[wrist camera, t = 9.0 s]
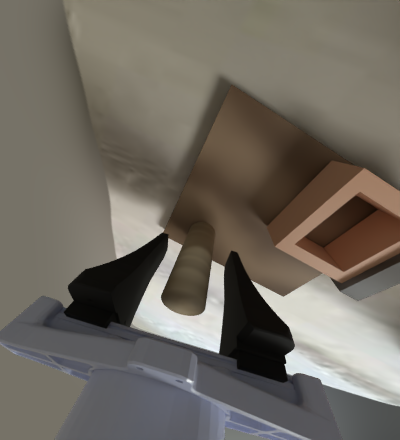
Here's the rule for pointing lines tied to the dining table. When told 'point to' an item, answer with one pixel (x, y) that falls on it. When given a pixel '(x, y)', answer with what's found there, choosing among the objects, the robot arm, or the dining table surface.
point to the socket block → (349, 241)
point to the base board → (266, 198)
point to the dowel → (191, 272)
